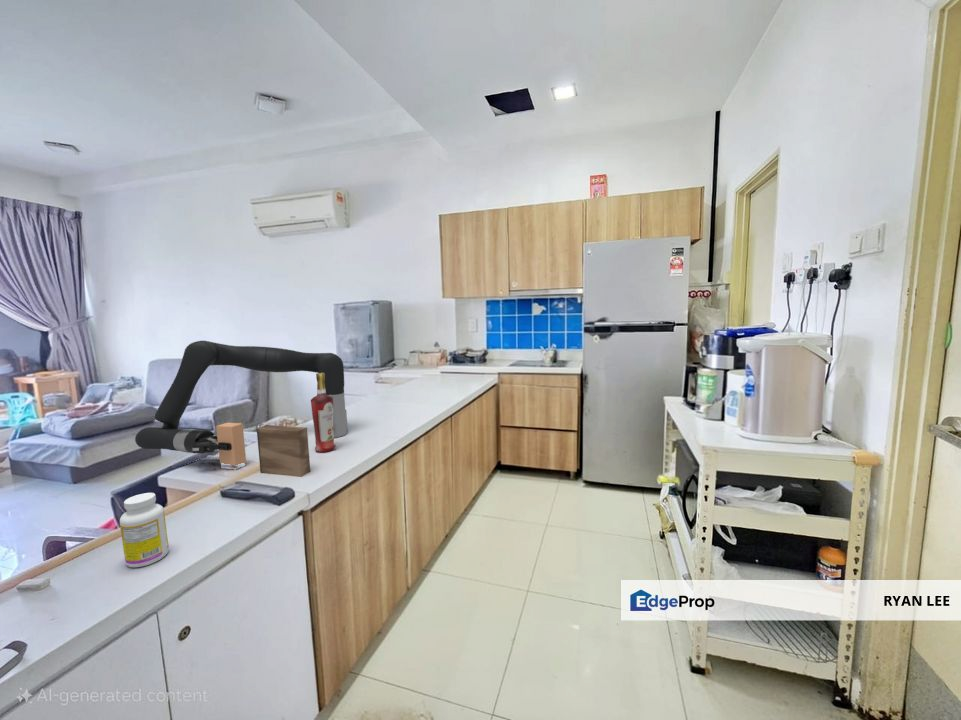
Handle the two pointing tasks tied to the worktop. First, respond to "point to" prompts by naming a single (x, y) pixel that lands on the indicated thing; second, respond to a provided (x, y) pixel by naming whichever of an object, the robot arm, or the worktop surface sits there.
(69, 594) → the worktop surface
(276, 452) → the brown wooden flat block
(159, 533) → the supplement bottle
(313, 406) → the liquor
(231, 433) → the light orange tall block
